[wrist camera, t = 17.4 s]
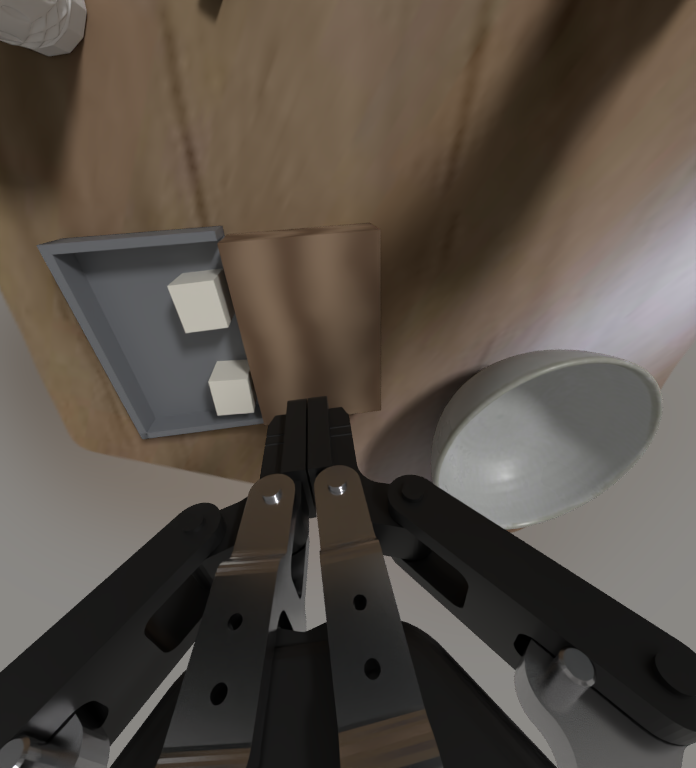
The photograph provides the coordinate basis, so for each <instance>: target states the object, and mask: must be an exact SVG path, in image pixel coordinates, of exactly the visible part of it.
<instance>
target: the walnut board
mask: <svg viewBox="0 0 696 768" xmlns="http://www.w3.org/2000/svg"><path fill="white" fill-rule="evenodd" d="M217 245H218V249H219V253H220V256H221V260H222V264H223V268H224V272H225V276H226V280H227V283H228V287H229V291H230V295H231V299H232V303H233V306H234V310H235V314H236V318H237V322H238V326H239V329H240V333H241V337H242V341H243V345H244V349H245V353H246V356H247V360H248V364H249V368H250V372H251V376H252V379H253V383H254V387H255V391H256V395H257V399H258V402H259V406H260V410H261V414H262V418H263V422H264V426H266V425H269V424H270V422H271V421H272V420H273V418H274V417H275V416H276V415H284V414H286V410H287V401H289V400H297V399H305V398H307V400H308V398H312V397H320V396H327V400H328V406H329V408H336V407H342V408H343V409H344V410H345V411H346V412H347V413H348V414H357V413H364V412H372V411H380V410H381V230H380V229H379V228H377V227H375V226H374V225H372V224H371V223H362V224H350V225H338V226H326V227H314V228H301V229H289V230H277V231H265V232H253V233H241V234H229V235H226V236H225V237H224V238H223V239H222V240H221V241H219V242H218V243H217Z"/></svg>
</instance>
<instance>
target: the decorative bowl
mask: <svg viewBox="0 0 696 768" xmlns="http://www.w3.org/2000/svg"><path fill="white" fill-rule="evenodd" d="M662 408H663V401H662V395H661V391H660V388H659V386H658V384H657V382H656V381H655V379H654V378H653V377H652V376H651V375H650V374H649V373H648V372H647V371H646V370H645V369H643V368H642V367H640V366H638V365H636V364H635V363H632V362H630V361H627V360H624V359H621V358H617V357H614V356H610V355H605V354H600V353H594V352H587V351H579V350H544V351H535V352H529V353H524V354H520V355H516V356H513V357H509V358H506V359H504V360H501V361H499V362H497V363H494V364H492V365H490V366H488V367H487V368H485V369H483V370H482V371H480V372H478V373H477V374H476V375H474V376H473V377H472V378H470V379H469V380H468V381H467V382H466V383H465V384H463V385H462V386H461V387H460V388H459V390H458V391H457V392H456V393H455V394H454V395H453V397H452V398H451V399H450V401H449V402H448V404H447V405H446V407H445V409H444V411H443V413H442V415H441V417H440V419H439V422H438V424H437V427H436V430H435V434H434V438H433V444H432V451H431V475H432V483H433V484H435V485H436V486H438V487H439V488H441V489H442V490H444V491H446V492H447V493H449V494H450V495H452V496H453V497H455V498H456V499H458V500H460V501H461V502H463V503H464V504H466V505H467V506H469V507H471V508H472V509H474V510H475V511H477V512H478V513H480V514H482V515H483V516H485V517H486V518H488V519H489V520H491V521H492V522H494V523H496V524H497V525H499V526H500V527H502V528H503V529H505V530H507V529H516V528H522V527H527V526H531V525H535V524H539V523H542V522H545V521H548V520H551V519H554V518H557V517H559V516H561V515H564V514H566V513H568V512H570V511H572V510H574V509H576V508H578V507H580V506H582V505H584V504H586V503H587V502H589V501H591V500H592V499H594V498H595V497H597V496H599V495H600V494H601V493H603V492H604V491H606V490H607V489H608V488H610V487H611V486H612V485H614V484H615V483H616V482H617V481H618V480H620V479H621V478H622V477H623V476H624V475H625V474H626V473H627V472H628V471H629V470H630V469H631V468H632V467H633V466H634V465H635V463H637V461H638V460H639V459H640V458H641V456H642V455H643V454H644V452H645V451H646V450H647V448H648V447H649V445H650V443H651V442H652V440H653V438H654V436H655V434H656V432H657V430H658V427H659V424H660V420H661V416H662Z"/></svg>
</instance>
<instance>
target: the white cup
mask: <svg viewBox="0 0 696 768" xmlns="http://www.w3.org/2000/svg"><path fill="white" fill-rule="evenodd" d="M86 15H87V10H86V6H85V2H84V0H0V41H3V42H6V43H8V44H11V45H16V46H22V47H25V48H28V49H30V50H33V51H36V52H38V53H41V54H44V55H46V56H55V55H61V54H67V53H71V51H72V50H73V49H74V48H75V47H76V46H77V44H78V43H79V42H80V41H81V40H82V39H83V37H84V30H85V22H86Z"/></svg>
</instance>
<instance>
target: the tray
mask: <svg viewBox="0 0 696 768" xmlns="http://www.w3.org/2000/svg"><path fill="white" fill-rule="evenodd" d="M224 237H225V235H224V231H223V227H222V226H213V227H200V228H188V229H176V230H163V231H151V232H138V233H126V234H113V235H101V236H88V237H76V238H63V239H59V240H55V241H51V242H47V243H43V244H40V245H36V246H37V247H38V249H39V251H40V253H41V255H42V257H43V258H44V260H45V262H46V264H47V266H48V267H49V269H50V271H51V273H52V275H53V277H54V278H55V280H56V282H57V284H58V286H59V288H60V289H61V291H62V293H63V295H64V297H65V299H66V300H67V302H68V304H69V306H70V308H71V310H72V311H73V313H74V315H75V317H76V319H77V321H78V322H79V324H80V326H81V328H82V330H83V332H84V333H85V335H86V337H87V339H88V341H89V342H90V344H91V346H92V348H93V350H94V352H95V353H96V355H97V357H98V359H99V361H100V363H101V364H102V366H103V368H104V370H105V372H106V374H107V375H108V377H109V379H110V381H111V383H112V385H113V386H114V388H115V390H116V392H117V394H118V396H119V397H120V399H121V401H122V403H123V405H124V407H125V408H126V410H127V412H128V414H129V416H130V417H131V419H132V421H133V423H134V425H135V427H136V428H137V430H138V432H139V434H140V436H141V438H142V439H148V438H155V437H163V436H171V435H178V434H186V433H193V432H201V431H209V430H216V429H224V428H231V427H239V426H247V425H254V424H262V423H264V422H263V418H262V414H261V410H260V406H259V402H258V399H256V404H255V410H254V413H243V414H231V415H219V416H218V415H217V412H216V408H215V405H214V401H213V397H212V394H211V390H210V386H209V383H208V381H209V379H210V376H211V374H212V372H213V369H214V367H215V365H216V362H217V361H229V360H246V359H247V356H246V353H245V349H244V345H243V341H242V337H241V333H240V329H239V326H238V322H237V318H236V314H235V313H234V316H233V318H232V320H231V322H230V325H229V327H228V328H221V329H213V330H206V331H198V332H191V333H185V330H184V328H183V325H182V322H181V320H180V317H179V315H178V312H177V310H176V307H175V305H174V302H173V300H172V297H171V295H170V292H169V290H168V287H167V286H168V285H169V284H170V283H171V282H172V281H174V280H175V279H176V278H177V277H178V276H179V275H181V274H182V273H188V272H197V271H205V270H213V269H221V268H223V264H222V260H221V256H220V253H219V249H218V245H217V243H218V242H219V241H221V240H222V239H223V238H224ZM223 270H224V268H223ZM224 274H225V272H224ZM225 277H226V276H225ZM227 284H228V283H227Z"/></svg>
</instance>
